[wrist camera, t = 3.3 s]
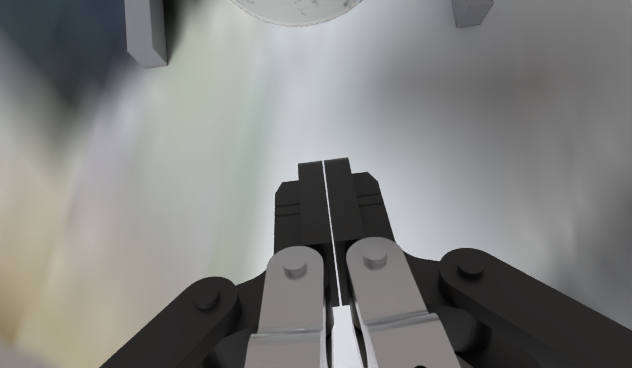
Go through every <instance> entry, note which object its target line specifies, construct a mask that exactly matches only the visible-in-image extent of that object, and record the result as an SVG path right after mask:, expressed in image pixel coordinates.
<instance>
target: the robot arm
mask: <svg viewBox="0 0 632 368" xmlns="http://www.w3.org/2000/svg"><path fill="white" fill-rule="evenodd" d="M324 165H325V174H326V182H327V191H328V200H329V208H330V217H331V224H332V232H333V240H334V247H335V255H336V262H337V270H338V278H339V285H340V293H341V300H342V306H344V305H350V309H351V316H352V325H353V333H354V337H355V342H356V346H357V350H358V354H359V358H360V362H361V367H362V368H632V330H630V329H628V328H626V327H624V326H622V325H620V324H619V323H617V322H615V321H613V320H611V319H609V318H607V317H606V316H604V315H602V314H600V313H598V312H596V311H594V310H592V309H591V308H589V307H587V306H585V305H583V304H581V303H579V302H578V301H576V300H574V299H572V298H570V297H568V296H566V295H565V294H563V293H561V292H559V291H557V290H555V289H553V288H551V287H550V286H548V285H546V284H544V283H542V282H540V281H538V280H537V279H535V278H533V277H531V276H529V275H527V274H525V273H523V272H522V271H520V270H518V269H516V268H514V267H512V266H510V265H509V264H507V263H505V262H503V261H501V260H499V259H497V258H495V257H494V256H492V255H490V254H488V253H486V252H484V251H481V250H478V249H473V248H460V249H455V250H452V251H450V252H448V253H447V254H445V255H444V256H443V257H442V259H441V261H433V260H426V259H420V258H417V257H413V256H411V255H409V254H407V253H406V252H404V251H403V250H402V249H401V248H400V247H399V245H397V244H396V242H395V239H394V236H393V233H392V229H391V226H390V222H389V219H388V215H387V212H386V208H385V205H384V201H383V198H382V195H381V191H380V188H379V184H378V181H377V180H376V179H375V178H374V177H373V176H371V175H370V174H369V173H368V172H363V173H355V174H352V173H351V169H350V164H349V159H348V158H340V159H332V160H324ZM298 175H299V180H297V181H289V182H282V184H281V185H280V187H279V189H278V190H277V192H276V193H275V227H274V256H273V257H272V258H271V259H270V260H269V262H268V265H267V269H266V270H265V271H264V272H263V273H262V274H260V275H259V276H257V277H256V278H254V279H251V280H249V281H246V282H244V283H241V284H239V285H236V286H235V285H234V284H233V283H232V282H231V281H230V280H228V279H226V278H223V277H208V278H204V279H201V280H198V281H196V282H195V283H193V284H191V285H190V286H189V287H188V288H186V289H185V290H184V291H183V292H182V293H181V294H180V295H179V296H178V297H176V298H175V299H174V300H173V301H172V302H171V303H170V304H169V305H168V306H167V307H165V308H164V309H163V310H162V311H161V312H160V313H159V314H158V315H157V316H156V317H154V318H153V319H152V320H151V321H150V322H149V323H148V324H147V325H146V326H145V327H143V328H142V329H141V330H140V331H139V332H138V333H137V334H136V335H135V336H134V337H132V338H131V339H130V340H129V341H128V342H127V343H126V344H125V345H124V346H123V347H121V348H120V349H119V350H118V351H117V352H116V353H115V354H114V355H113V356H112V357H110V358H109V359H108V360H107V361H106V362H105V363H104V364H103V365H102V366H101V367H99V368H334V359H333V330H332V329H333V325H334V317H333V308H332V307H337V306H340V304H339V296H338V287H337V279H336V270H335V261H334V253H333V244H332V236H331V228H330V220H329V212H328V205H327V197H326V189H325V181H324V173H323V165H322V161H316V162H308V163H299V164H298Z"/></svg>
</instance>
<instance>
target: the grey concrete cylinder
mask: <svg viewBox="0 0 632 368" xmlns="http://www.w3.org/2000/svg"><path fill="white" fill-rule="evenodd" d="M231 1H232V2H233V3H234V4H236V5H237V6H238V7H240V8H241V9H242V10H244V11H245V12H246V13H248V14H249V15H252V16H254V17H256V18H258V19H261V20H263V21H265V22H268V23H273V24H278V25H283V26H310V25H315V24H319V23H323V22H328V21H330V20H332V19H334V18H336V17H338V16H341V15H343V14H345V13H347V12H348V11H349V10H351V9H352V8H353V7H355V6H356V5H357V4H359V3H360V2H361V1H362V0H231Z"/></svg>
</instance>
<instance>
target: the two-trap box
mask: <svg viewBox="0 0 632 368" xmlns="http://www.w3.org/2000/svg"><path fill="white" fill-rule="evenodd" d="M493 3H494V2H493V0H452V4H453V10H454V15H455V21H456V26H457V27H464V26H472V25H480V24H481V22H482V21H483V19H484V18H485V16H486V14H487V13H488V11H489V10H490V8H491V6H492V5H493ZM125 16H126V33H127V51H128V52H129V53H130V54H131V55H132V56H133V57H134V58H135V59H136V60H137V61H138V62H139V63H140V64H141V65H142V66H143V67H144V68H152V67H160V66H167V52H166V39H165V25H164V11H163V0H125Z"/></svg>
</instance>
